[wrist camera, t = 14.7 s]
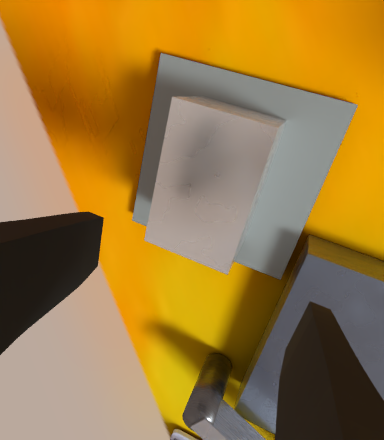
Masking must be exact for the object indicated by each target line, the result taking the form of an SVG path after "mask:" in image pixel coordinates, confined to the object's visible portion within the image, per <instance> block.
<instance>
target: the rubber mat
mask: <svg viewBox="0 0 384 440" xmlns="http://www.w3.org/2000/svg"><path fill="white" fill-rule="evenodd" d="M184 96H204V97H207V98H211V99H214V100H218V101H221V102H225V103H228V104H232V105H235V106H239V107H242V108H246V109H249V110H253V111H256V112H260V113H263V114H267V115H270V116H274V117H277V118H281V119H284V120H287V121H286V124H285V127H284V130H283V133H282V135H281V138H280V141H279V144H278V147H277V150H276V152H275V155H274V158H273V161H272V164H271V166H270V169H269V172H268V175H267V178H266V181H265V183H264V186H263V189H262V192H261V195H260V197H259V200H258V203H257V206H256V209H255V212H254V214H253V217H252V220H251V223H250V226H249V228H248V231H247V234H246V237H245V240H244V242H243V244H242V246H241V248H240V250H239V252H238V254H237V256H236V258H235V260H234V261H235V262H237V263H240V264H242V265H245V266H247V267H250V268H252V269H255V270H257V271H260V272H262V273H265V274H267V275H270V276H272V277H275V278H277V279H280V280H281V277H282V275H283V273H284V271H285V268H286V266H287V264H288V262H289V259H290V257H291V255H292V253H293V250H294V248H295V246H296V244H297V241H298V239H299V237H300V235H301V232H302V230H303V228H304V226H305V223H306V221H307V219H308V217H309V214H310V212H311V210H312V208H313V205H314V203H315V201H316V199H317V196H318V194H319V192H320V190H321V187H322V185H323V183H324V180H325V178H326V176H327V174H328V171H329V169H330V167H331V165H332V162H333V160H334V158H335V156H336V153H337V151H338V149H339V147H340V144H341V142H342V140H343V138H344V135H345V133H346V131H347V129H348V126H349V124H350V122H351V120H352V117H353V115H354V113H355V111H356V108H357V106H358V105H356V104H353V103H349V102H345V101H341V100H337V99H334V98H330V97H326V96H322V95H318V94H315V93H311V92H307V91H303V90H299V89H296V88H292V87H288V86H284V85H281V84H277V83H273V82H269V81H265V80H262V79H258V78H254V77H250V76H246V75H243V74H239V73H235V72H231V71H228V70H224V69H220V68H216V67H212V66H209V65H205V64H201V63H197V62H193V61H190V60H186V59H182V58H178V57H175V56H171V55H167V54H163V53H161V55H160V61H159V67H158V73H157V79H156V84H155V90H154V96H153V102H152V108H151V114H150V119H149V125H148V131H147V137H146V143H145V149H144V154H143V160H142V166H141V172H140V178H139V184H138V189H137V195H136V201H135V207H134V213H133V219H132V221H135V222H137V223H140V224H142V225H145V226H147V224H148V219H149V214H150V208H151V203H152V198H153V193H154V188H155V183H156V178H157V172H158V167H159V162H160V157H161V152H162V147H163V142H164V136H165V131H166V126H167V121H168V116H169V111H170V105H171V100H172V97H184Z"/></svg>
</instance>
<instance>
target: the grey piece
mask: <svg viewBox="0 0 384 440" xmlns="http://www.w3.org/2000/svg"><path fill="white" fill-rule="evenodd" d="M310 301H311V302H314V303H316V304H319V305H321V306H323V307H326V308H328V309H331V311H332V313H333V314H334V316H335V318H336V320H337V322H338V324H339V326H340V327H341V329H342V331H343V333H344V335H345V337H346V339H347V340H348V342H349V344H350V346H351V348H352V349H353V351H354V353H355V355H356V357H357V358H358V360H359V362H360V363H361V365H362V367H363V369H364V370H365V372H366V373H367V375H368V377H369V378H370V380H371V382H372V383H373V385H374V386H375V388H376V389H377V391H378V392H379V394H380V395H381V397H382V399H383V400H384V261H382V260H379V259H376V258H373V257H371V256H368V255H365V254H362V253H360V252H357V251H354V250H351V249H349V248H346V247H343V246H340V245H338V244H335V243H332V242H329V241H326V240H324V239H321V238H318V237H315V236H313V235H310V234H309V235H308V237H307V240H306V242H305V244H304V246H303V248H302V251H301V253H300V255H299V257H298V259H297V262H296V264H295V266H294V268H293V270H292V273H291V275H290V277H289V279H288V281H287V283H286V286H285V288H284V290H283V292H282V294H281V297H280V299H279V301H278V303H277V305H276V308H275V310H274V312H273V314H272V316H271V319H270V321H269V323H268V325H267V327H266V329H265V332H264V334H263V336H262V338H261V340H260V343H259V345H258V347H257V349H256V351H255V354H254V356H253V358H252V360H251V362H250V365H249V367H248V369H247V371H246V373H245V375H244V378H243V380H242V382H241V385H240V389H239V392H238V396H237V400H236V404H235V408H234V410H235V411H236V412H237V413H238V414H239V415H240V416H241V417H242V418H244V419H246V420H248V421H250V422H252V423H254V424H256V425H258V426H260V427H261V428H263V429H265V430H267V431H269V432H271V433H273V434H275V431H276V416H277V402H278V389H279V379H280V373H281V368H282V363H283V359H284V354H285V349H286V347H287V345H288V343H289V341H290V339H291V337H292V335H293V333H294V331H295V329H296V327H297V325H298V323H299V321H300V320H301V318H302V316H303V314H304V312H305V310H306V308H307V306H308V304H309V302H310Z"/></svg>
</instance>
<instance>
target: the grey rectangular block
mask: <svg viewBox="0 0 384 440" xmlns="http://www.w3.org/2000/svg"><path fill="white" fill-rule="evenodd" d="M286 121H287V120H284V119H281V118H277V117H274V116H270V115H267V114H263V113H260V112H256V111H253V110H249V109H246V108H242V107H239V106H235V105H232V104H228V103H225V102H221V101H218V100H214V99H211V98H207V97H204V96H184V97H172V100H171V105H170V111H169V116H168V121H167V126H166V131H165V136H164V142H163V147H162V152H161V157H160V162H159V167H158V172H157V178H156V183H155V188H154V193H153V198H152V203H151V208H150V214H149V219H148V224H147V229H146V234H145V239H144V240H145V241H147V242H149V243H152V244H154V245H157V246H159V247H162V248H164V249H166V250H169V251H171V252H174V253H176V254H179V255H181V256H184V257H186V258H188V259H191V260H193V261H196V262H198V263H201V264H203V265H205V266H208V267H210V268H213V269H215V270H218V271H220V272H222V273H225V274H227V275H228V273H229V271H230V269H231V266H232V264H233V262H234V260H235V258H236V256H237V254H238V252H239V250H240V248H241V246H242V244H243V242H244V240H245V237H246V234H247V231H248V228H249V226H250V223H251V220H252V217H253V214H254V212H255V209H256V206H257V203H258V200H259V197H260V195H261V192H262V189H263V186H264V183H265V181H266V178H267V175H268V172H269V169H270V166H271V164H272V161H273V158H274V155H275V152H276V150H277V147H278V144H279V141H280V138H281V135H282V133H283V130H284V127H285V124H286Z"/></svg>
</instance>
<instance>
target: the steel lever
mask: <svg viewBox="0 0 384 440" xmlns="http://www.w3.org/2000/svg"><path fill="white" fill-rule="evenodd" d="M231 370H232V365H231V362H230V361H229V360H228V359H227V358H226V357H225V356H223V355H221V354H217V353H212V354H210V355H208V356H207V358H206V360H205V362H204V365H203V367H202V369H201V372H200V374H199V377H198V379H197V381H196V384H195V386H194V389H193V391H192V393H191V396H190V398H189V401H188V403H187V405H186V408H185V410H184V413H183V420H184V422H185V424H186V425H187V426H188V427H189V428H190V429H191V430H193V431H194V432H196V433H197V434H198V435H199V436H200V437H201V438H202V439H203V440H266V439H265V438H263V437H262V436H261V435H260V434H259V433H258V432H257V431H256V430H255V429H254V428H253V427H252V426H251V425H250V424H249V423H247V422H246V421H245V420H244V419H243V418H242V417H241V416H240V415H239V414H238V413H237V412H236V411H235V410H234V409H233V408H231V407H230V406H229V405H228V404H227V403H226V402H225V401H224V400H223V396H224V393H225V390H226V386H227V383H228V380H229V377H230V373H231Z"/></svg>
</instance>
